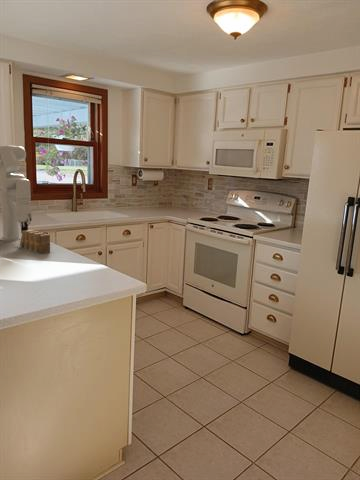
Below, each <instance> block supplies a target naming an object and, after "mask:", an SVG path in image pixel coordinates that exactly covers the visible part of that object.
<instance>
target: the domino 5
mask: <svg viewBox="0 0 360 480" xmlns="http://www.w3.org/2000/svg"><path fill="white" fill-rule="evenodd" d="M39 237H40V253H41V255H45V254H44V253H47V254H50V253H49V252H50V251H51V234H49V233H46V234H45V233H44V235H39Z"/></svg>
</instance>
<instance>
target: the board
mask: <svg viewBox="0 0 360 480" xmlns="http://www.w3.org/2000/svg"><path fill="white" fill-rule="evenodd" d="M16 248H18V249H21V250H24V251H27V252H31V253H33V254H36V255H39V256H40V255H42V254H41V253H40V252H35V250H32V251H31V250H29V249H25V248H24V247H21V246H20V245H18V246H16ZM51 253H53V251H51V250H50V252H49V253H44V254H43V255H46V254H51Z"/></svg>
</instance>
